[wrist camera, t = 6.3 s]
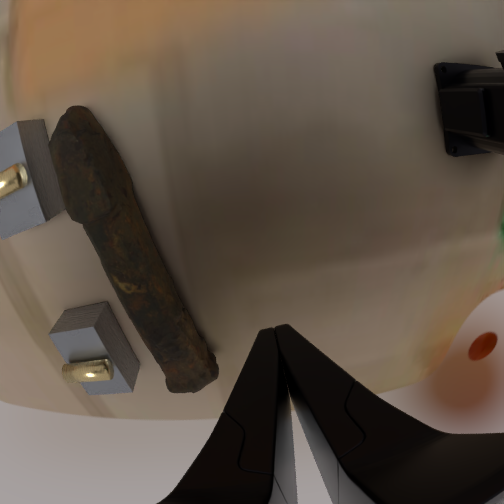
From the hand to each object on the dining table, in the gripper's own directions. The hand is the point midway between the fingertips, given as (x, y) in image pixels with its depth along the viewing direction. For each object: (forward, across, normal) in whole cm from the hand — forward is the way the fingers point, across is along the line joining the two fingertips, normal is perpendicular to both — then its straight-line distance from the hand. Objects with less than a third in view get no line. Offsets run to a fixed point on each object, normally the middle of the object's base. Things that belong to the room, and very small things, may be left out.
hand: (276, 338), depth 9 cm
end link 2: (+11, +13, +6) cm, 18 cm away
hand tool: (+11, +8, 0) cm, 13 cm away
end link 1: (+11, +13, -7) cm, 18 cm away
